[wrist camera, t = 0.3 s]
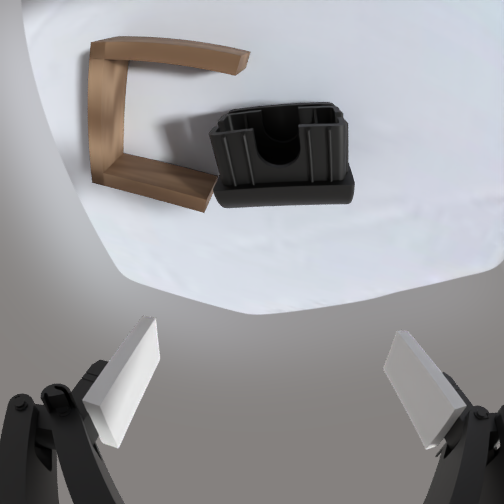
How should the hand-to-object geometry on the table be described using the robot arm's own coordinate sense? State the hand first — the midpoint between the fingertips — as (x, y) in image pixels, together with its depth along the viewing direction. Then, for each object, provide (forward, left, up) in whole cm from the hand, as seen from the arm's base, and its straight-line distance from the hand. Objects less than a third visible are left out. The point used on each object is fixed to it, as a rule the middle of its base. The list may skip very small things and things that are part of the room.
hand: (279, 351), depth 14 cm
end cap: (-3, -2, -17) cm, 17 cm away
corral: (-3, -13, -17) cm, 21 cm away
